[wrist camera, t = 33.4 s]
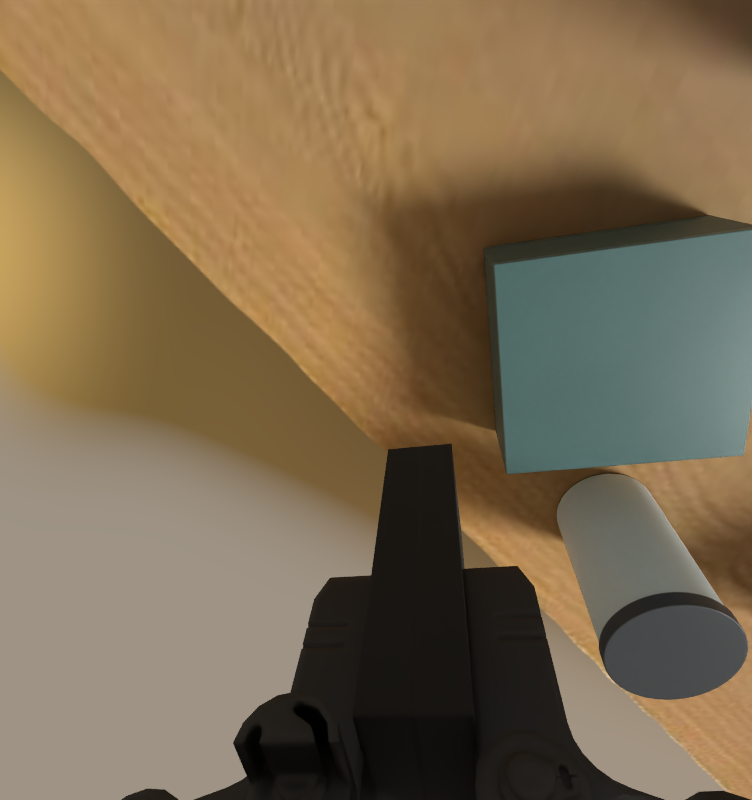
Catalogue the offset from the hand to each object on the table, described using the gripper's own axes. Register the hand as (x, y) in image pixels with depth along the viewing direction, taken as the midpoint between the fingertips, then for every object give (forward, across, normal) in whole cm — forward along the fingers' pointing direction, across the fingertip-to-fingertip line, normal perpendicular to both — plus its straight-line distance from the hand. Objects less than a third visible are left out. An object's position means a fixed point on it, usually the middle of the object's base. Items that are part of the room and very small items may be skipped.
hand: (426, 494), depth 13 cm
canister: (+32, +14, -26) cm, 44 cm away
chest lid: (+26, +13, -8) cm, 30 cm away
